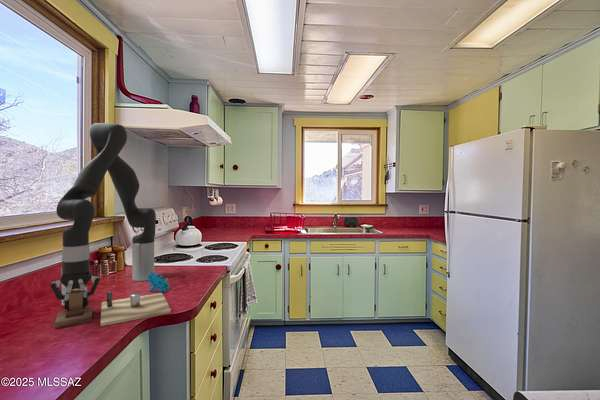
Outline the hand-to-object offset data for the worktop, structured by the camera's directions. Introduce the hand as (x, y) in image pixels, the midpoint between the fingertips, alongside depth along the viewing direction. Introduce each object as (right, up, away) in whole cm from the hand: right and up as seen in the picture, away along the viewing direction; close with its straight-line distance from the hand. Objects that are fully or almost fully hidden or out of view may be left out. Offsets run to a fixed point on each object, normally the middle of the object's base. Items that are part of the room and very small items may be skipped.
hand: (76, 308), depth 100 cm
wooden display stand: (+2, -1, -3) cm, 4 cm away
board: (+18, -1, +4) cm, 18 cm away
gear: (+17, -1, +23) cm, 29 cm away
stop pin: (+9, -1, +4) cm, 10 cm away
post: (+18, -1, +4) cm, 18 cm away
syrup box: (-9, -1, +10) cm, 13 cm away
